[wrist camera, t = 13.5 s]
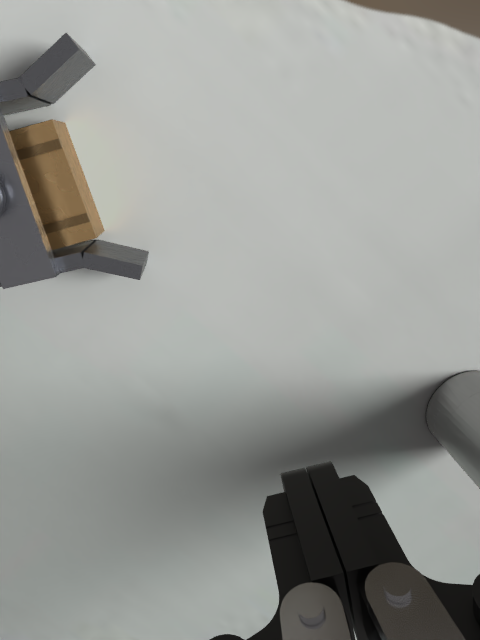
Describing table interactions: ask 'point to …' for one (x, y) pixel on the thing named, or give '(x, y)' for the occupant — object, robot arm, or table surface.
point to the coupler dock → (14, 193)
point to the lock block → (57, 183)
